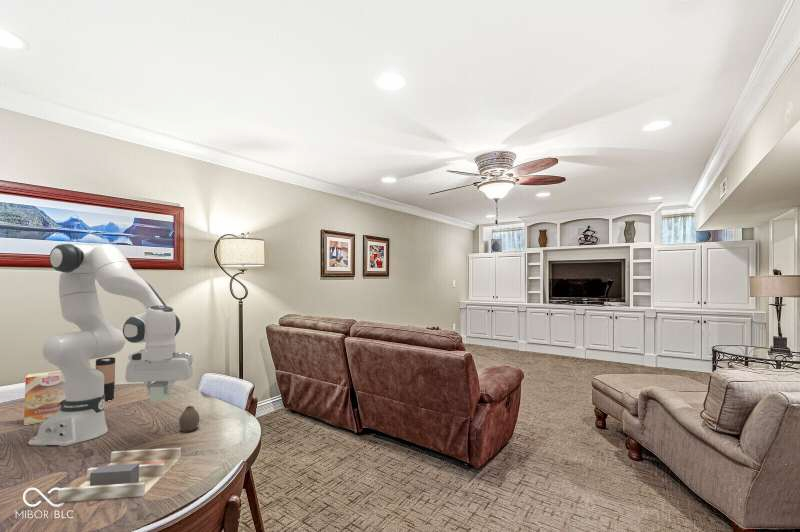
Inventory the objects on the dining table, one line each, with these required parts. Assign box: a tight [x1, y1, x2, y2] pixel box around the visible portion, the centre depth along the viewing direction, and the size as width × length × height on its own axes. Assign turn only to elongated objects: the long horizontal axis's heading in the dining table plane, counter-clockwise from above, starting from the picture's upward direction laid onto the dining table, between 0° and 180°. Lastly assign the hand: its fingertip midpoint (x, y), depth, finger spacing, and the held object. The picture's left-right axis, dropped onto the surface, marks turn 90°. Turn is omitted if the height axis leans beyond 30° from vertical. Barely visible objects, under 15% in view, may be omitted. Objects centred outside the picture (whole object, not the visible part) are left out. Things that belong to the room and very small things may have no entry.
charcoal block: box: [90, 464, 139, 486], centre depth 102 cm, size 10×4×5 cm, turn 97°
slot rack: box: [57, 447, 182, 503], centre depth 107 cm, size 20×22×4 cm
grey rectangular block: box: [149, 381, 170, 403], centre depth 128 cm, size 4×4×6 cm
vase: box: [178, 405, 200, 433], centre depth 144 cm, size 7×7×9 cm
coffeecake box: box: [23, 370, 66, 426], centre depth 156 cm, size 15×7×20 cm, turn 131°
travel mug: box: [95, 357, 116, 402], centre depth 182 cm, size 8×8×20 cm
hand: (159, 393), depth 128 cm, fingers closed on grey rectangular block, 4 cm apart
